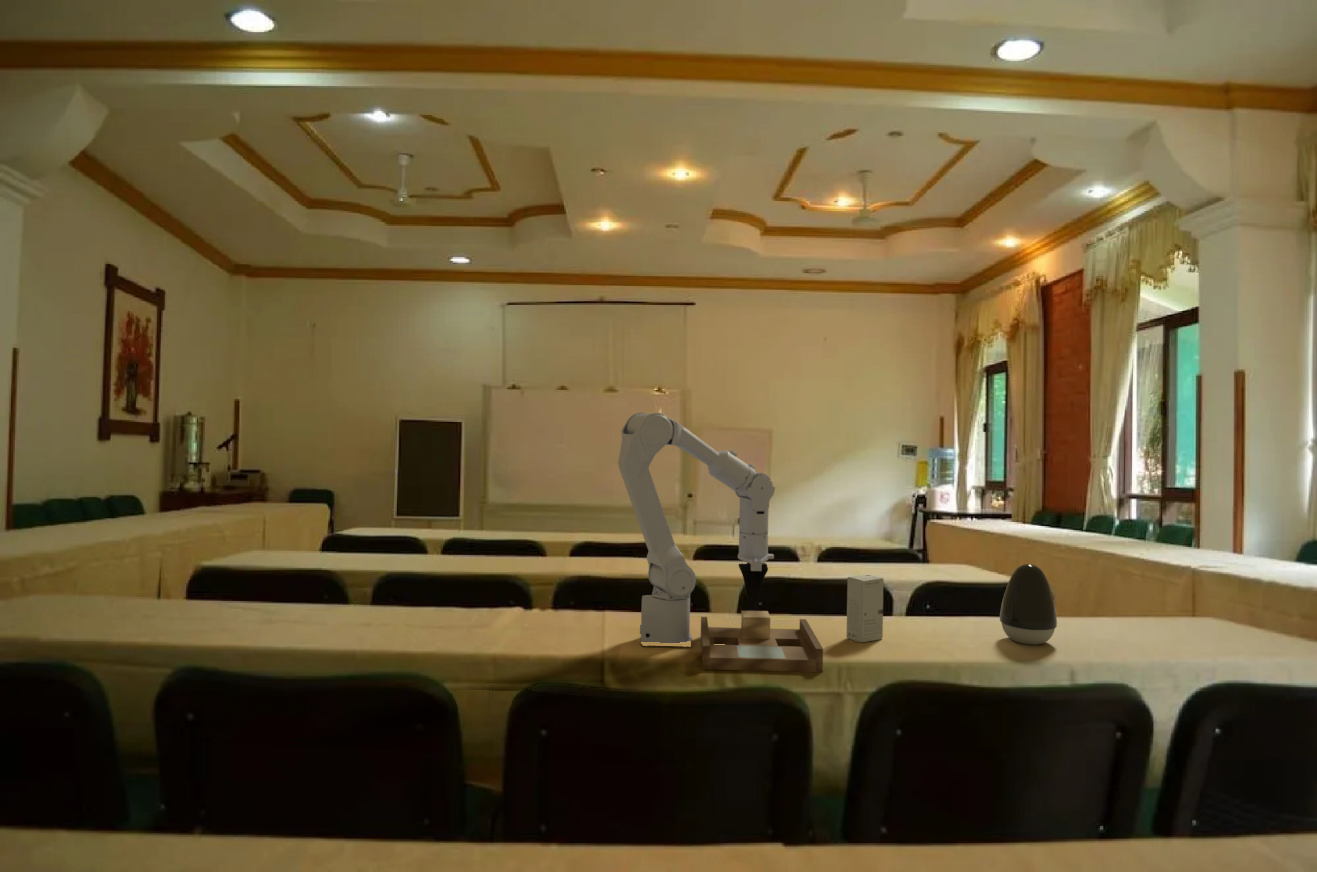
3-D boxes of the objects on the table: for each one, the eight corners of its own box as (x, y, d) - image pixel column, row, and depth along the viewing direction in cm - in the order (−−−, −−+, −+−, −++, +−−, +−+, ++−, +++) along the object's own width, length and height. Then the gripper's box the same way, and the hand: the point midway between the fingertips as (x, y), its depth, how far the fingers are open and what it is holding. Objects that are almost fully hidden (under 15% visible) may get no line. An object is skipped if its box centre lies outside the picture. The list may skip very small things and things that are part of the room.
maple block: (742, 638, 151) (743, 617, 151) (741, 631, 156) (741, 610, 156) (769, 639, 151) (770, 617, 151) (767, 631, 156) (767, 611, 156)
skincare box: (862, 643, 156) (863, 580, 156) (844, 638, 160) (846, 576, 160) (884, 639, 160) (885, 577, 159) (866, 633, 163) (867, 573, 163)
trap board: (702, 668, 139) (702, 645, 139) (700, 637, 159) (700, 616, 159) (822, 672, 138) (823, 648, 138) (805, 639, 158) (805, 619, 158)
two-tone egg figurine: (1055, 637, 162) (1057, 562, 162) (1056, 651, 153) (1059, 570, 152) (1000, 631, 167) (1002, 557, 166) (998, 644, 157) (1000, 565, 157)
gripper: (777, 538, 154) (776, 609, 154) (770, 527, 168) (769, 592, 169) (740, 537, 154) (739, 609, 154) (735, 527, 168) (735, 592, 169)
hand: (752, 600), depth 161 cm, fingers closed
